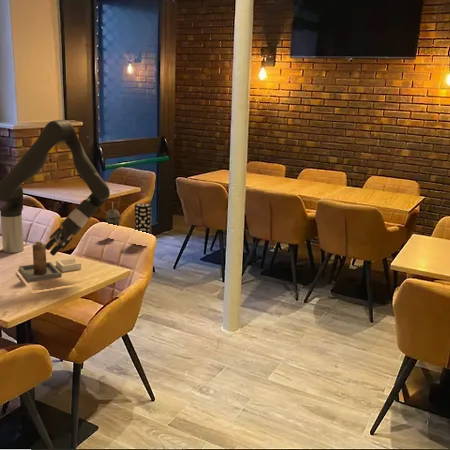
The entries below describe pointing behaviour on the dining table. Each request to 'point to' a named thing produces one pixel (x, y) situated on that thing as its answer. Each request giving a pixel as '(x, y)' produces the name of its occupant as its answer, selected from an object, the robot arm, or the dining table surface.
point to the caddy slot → (67, 264)
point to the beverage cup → (113, 216)
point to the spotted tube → (143, 217)
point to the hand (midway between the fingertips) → (48, 251)
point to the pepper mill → (39, 258)
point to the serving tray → (30, 276)
